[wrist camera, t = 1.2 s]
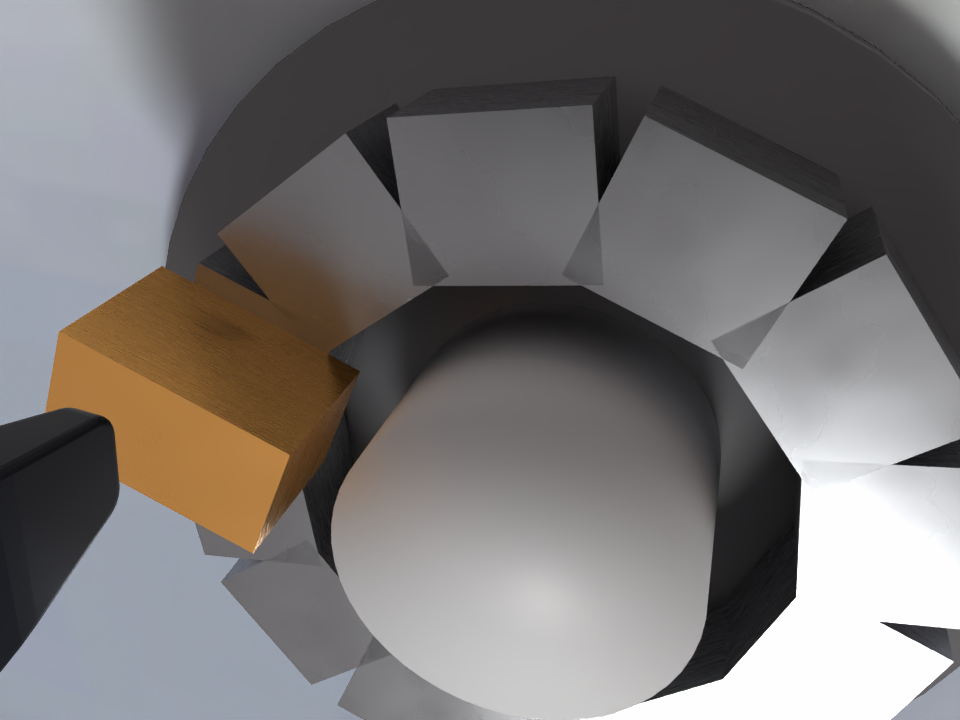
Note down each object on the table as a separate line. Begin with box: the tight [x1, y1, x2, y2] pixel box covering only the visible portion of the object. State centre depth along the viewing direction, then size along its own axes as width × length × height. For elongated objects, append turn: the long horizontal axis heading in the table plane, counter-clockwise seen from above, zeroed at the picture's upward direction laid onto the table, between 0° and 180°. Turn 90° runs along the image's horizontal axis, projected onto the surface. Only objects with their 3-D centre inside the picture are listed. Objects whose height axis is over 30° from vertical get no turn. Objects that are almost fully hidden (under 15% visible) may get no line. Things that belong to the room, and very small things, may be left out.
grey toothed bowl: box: [45, 76, 960, 720], centre depth 18 cm, size 16×17×5 cm
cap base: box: [166, 0, 960, 720], centre depth 19 cm, size 20×20×6 cm
